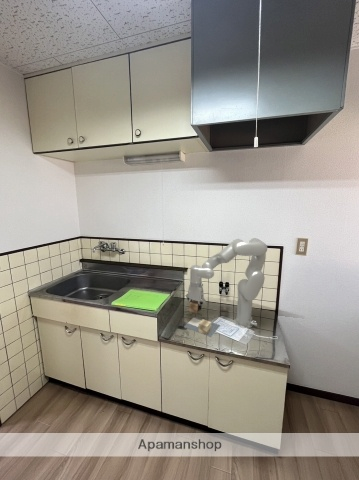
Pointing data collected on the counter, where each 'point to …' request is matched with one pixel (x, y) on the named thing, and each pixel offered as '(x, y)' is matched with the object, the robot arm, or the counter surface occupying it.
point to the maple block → (205, 327)
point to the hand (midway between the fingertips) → (195, 308)
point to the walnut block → (193, 306)
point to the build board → (194, 326)
